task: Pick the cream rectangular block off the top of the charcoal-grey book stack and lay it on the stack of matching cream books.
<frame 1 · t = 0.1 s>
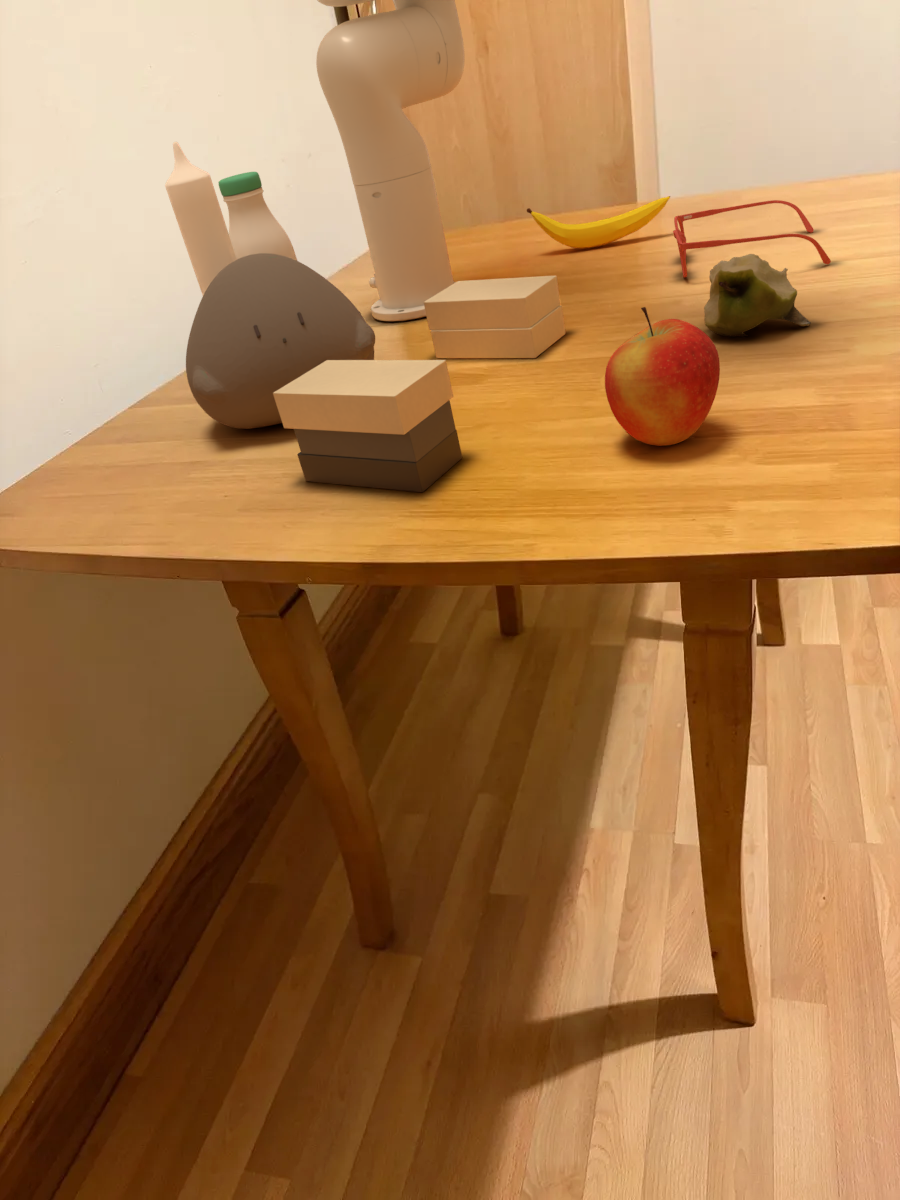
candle: (256, 389, 100), on the table
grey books: (382, 469, 74), on the table
banana: (601, 247, 123), on the table
cream rectangular block: (367, 412, 71), point 5 cm above the table, touching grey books
red eyeglasses: (747, 260, 104), on the table
decorative object: (296, 409, 92), on the table
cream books: (500, 346, 95), on the table
milk bottle: (291, 353, 110), on the table
apple: (666, 440, 68), on the table
fruit: (748, 331, 84), on the table
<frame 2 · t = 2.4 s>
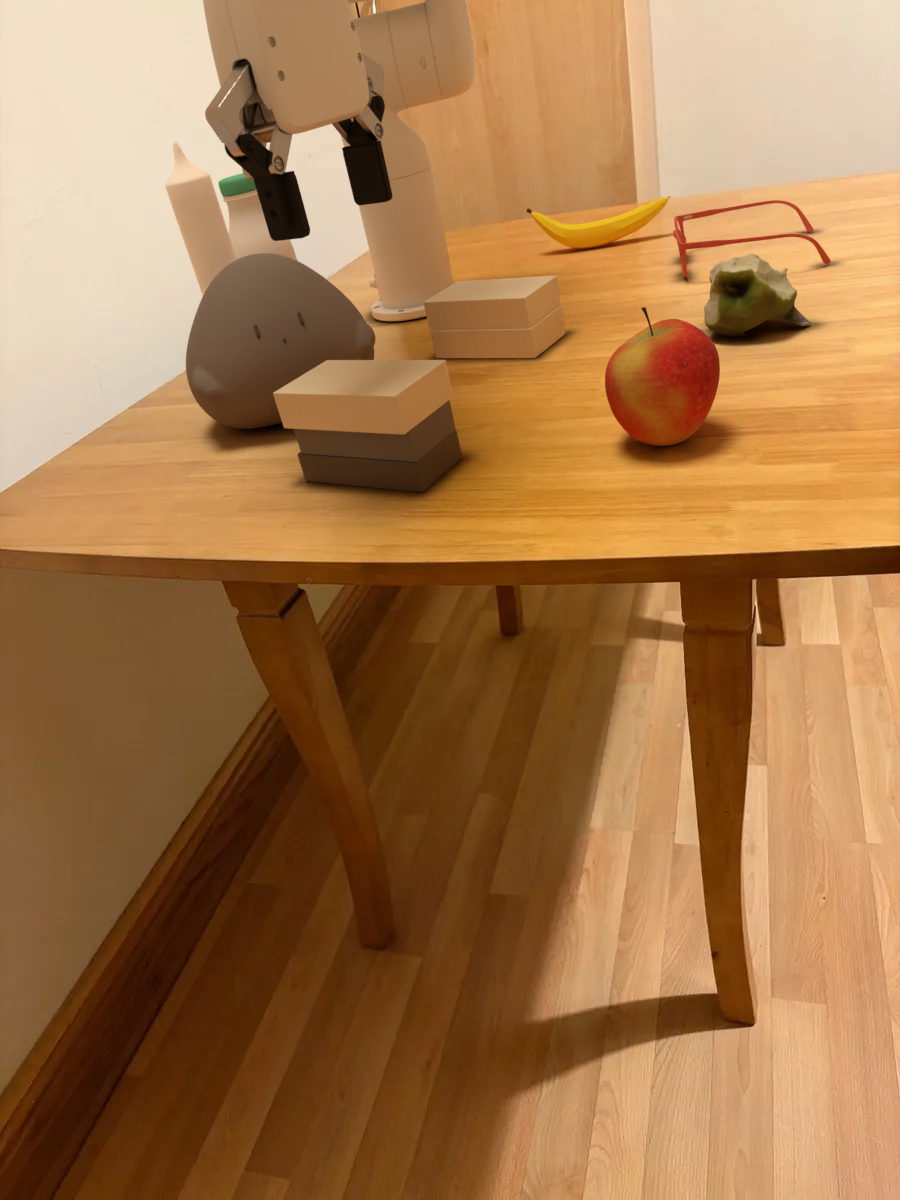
hand: (334, 219, 64), 19 cm above the table, tool pointing down, fingers open, 9 cm apart
nothing on the table moved.
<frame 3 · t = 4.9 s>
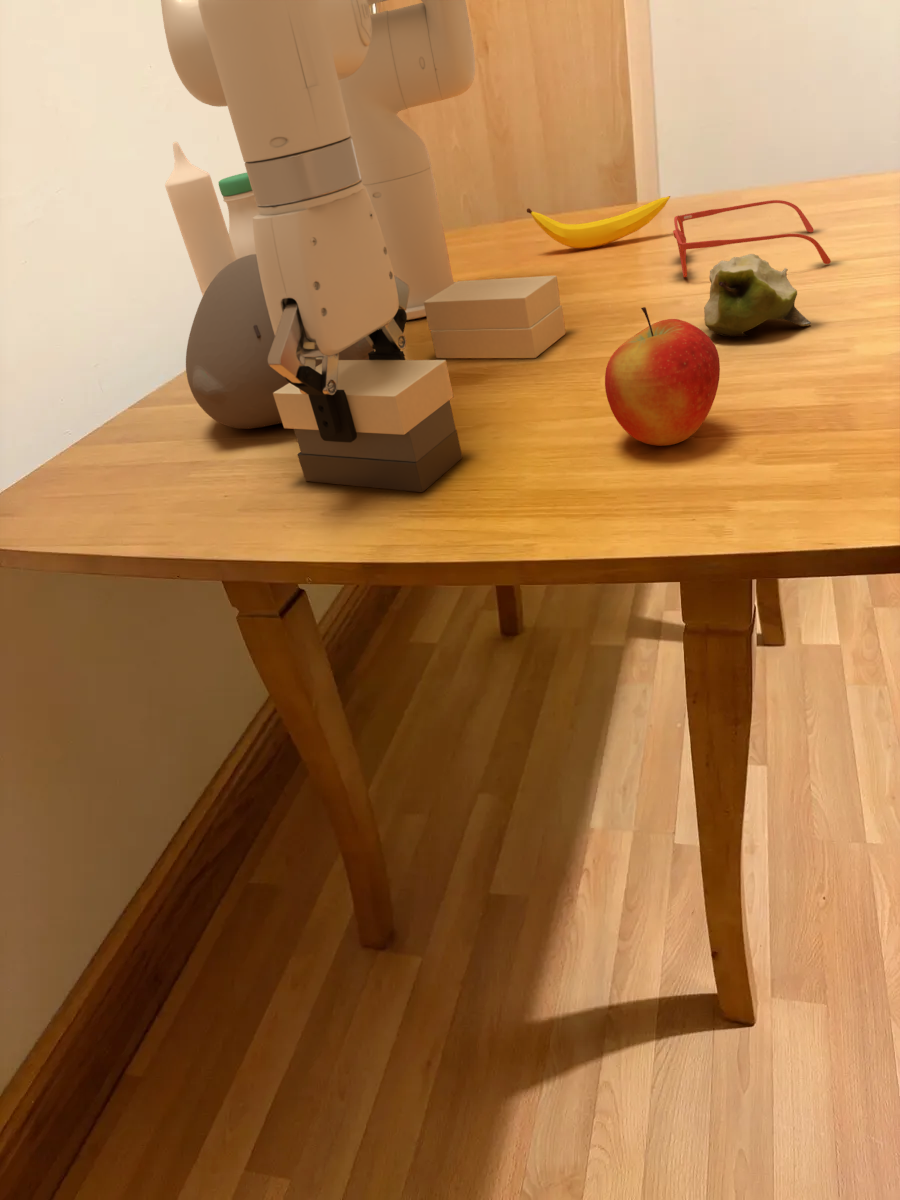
hand: (368, 417, 71), 5 cm above the table, tool pointing down, fingers closed on cream rectangular block, 7 cm apart
cream rectangular block: (367, 412, 71), point 5 cm above the table, touching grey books, gripper
everything else where it was.
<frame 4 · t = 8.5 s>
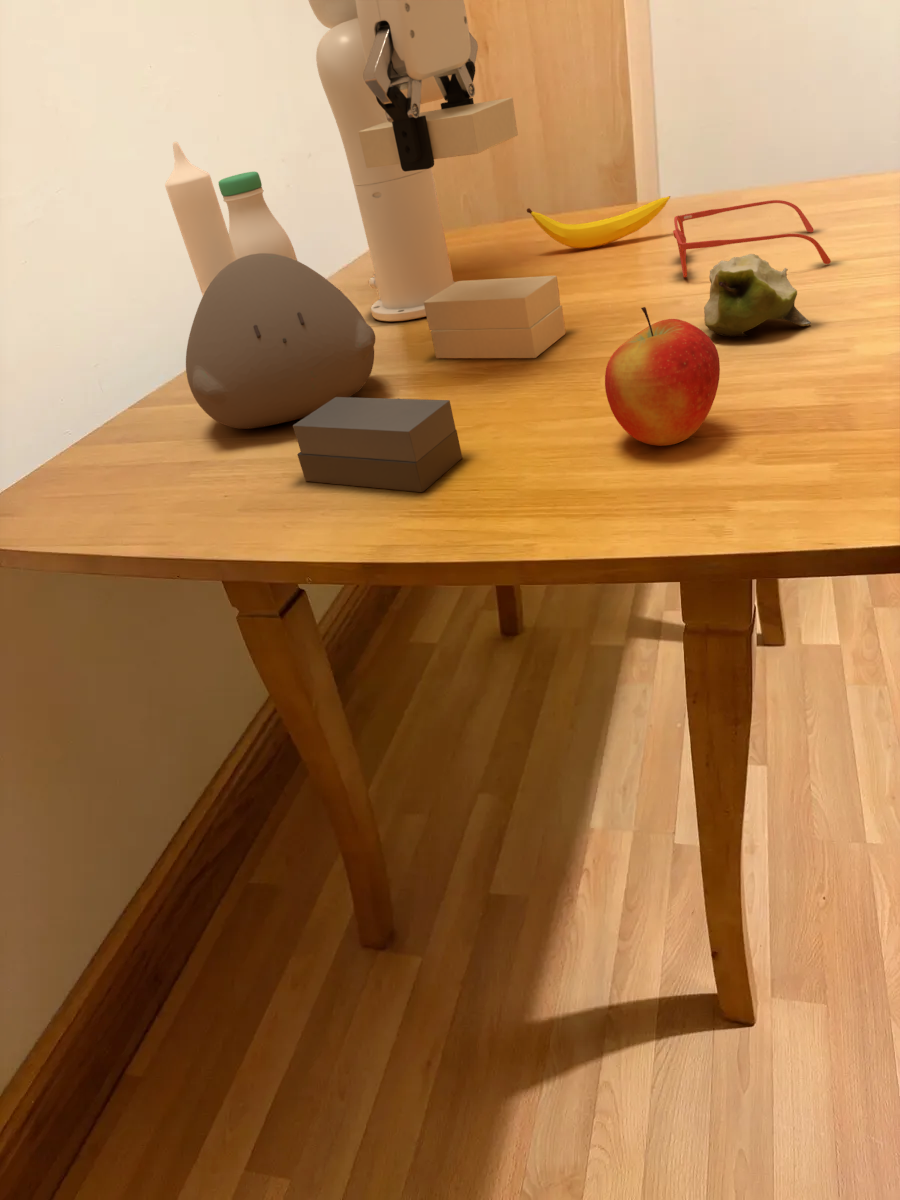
hand: (442, 157, 81), 19 cm above the table, tool pointing down, fingers closed on cream rectangular block, 7 cm apart
cream rectangular block: (441, 151, 80), point 20 cm above the table, touching gripper
everything else where it was.
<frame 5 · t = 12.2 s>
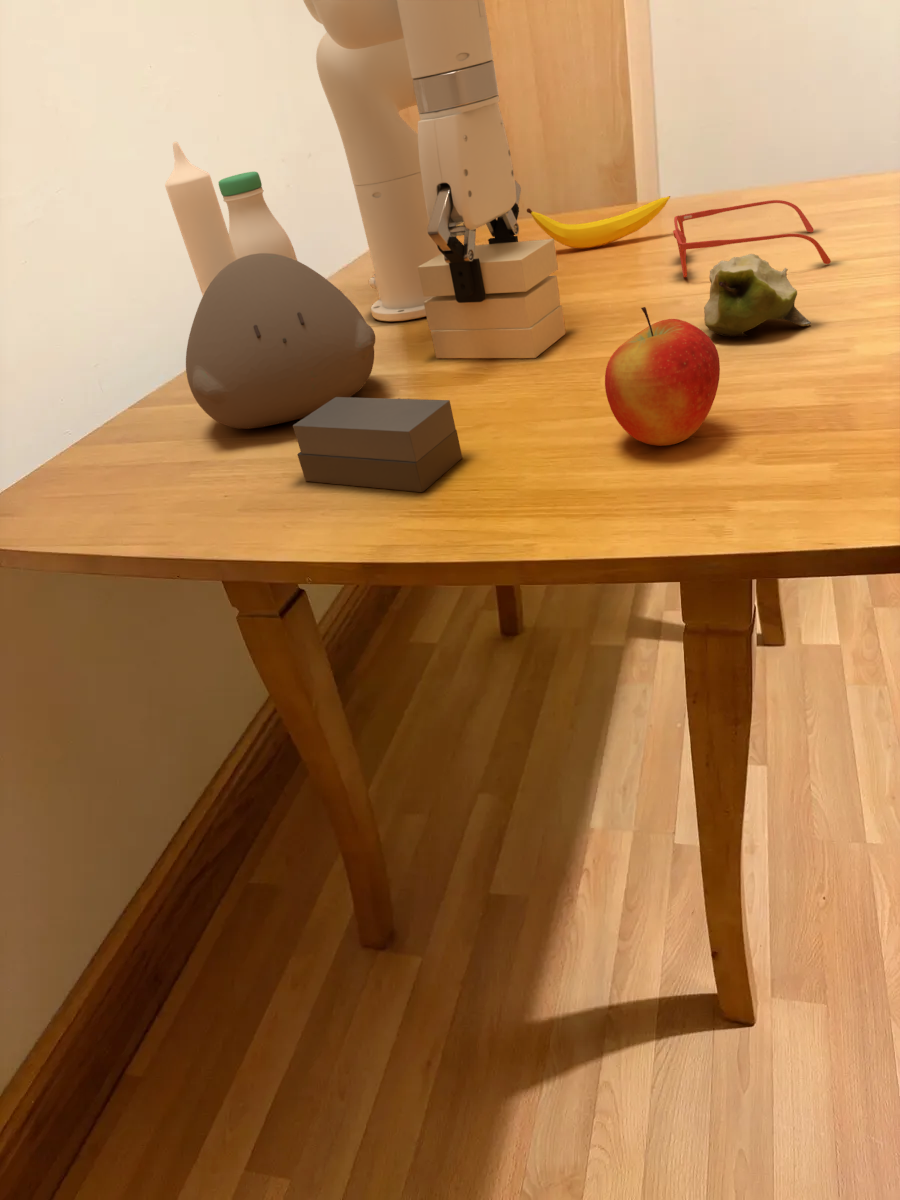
hand: (490, 287, 91), 6 cm above the table, tool pointing down, fingers closed on cream rectangular block, 7 cm apart
cream rectangular block: (490, 283, 91), point 7 cm above the table, touching gripper
everything else where it was.
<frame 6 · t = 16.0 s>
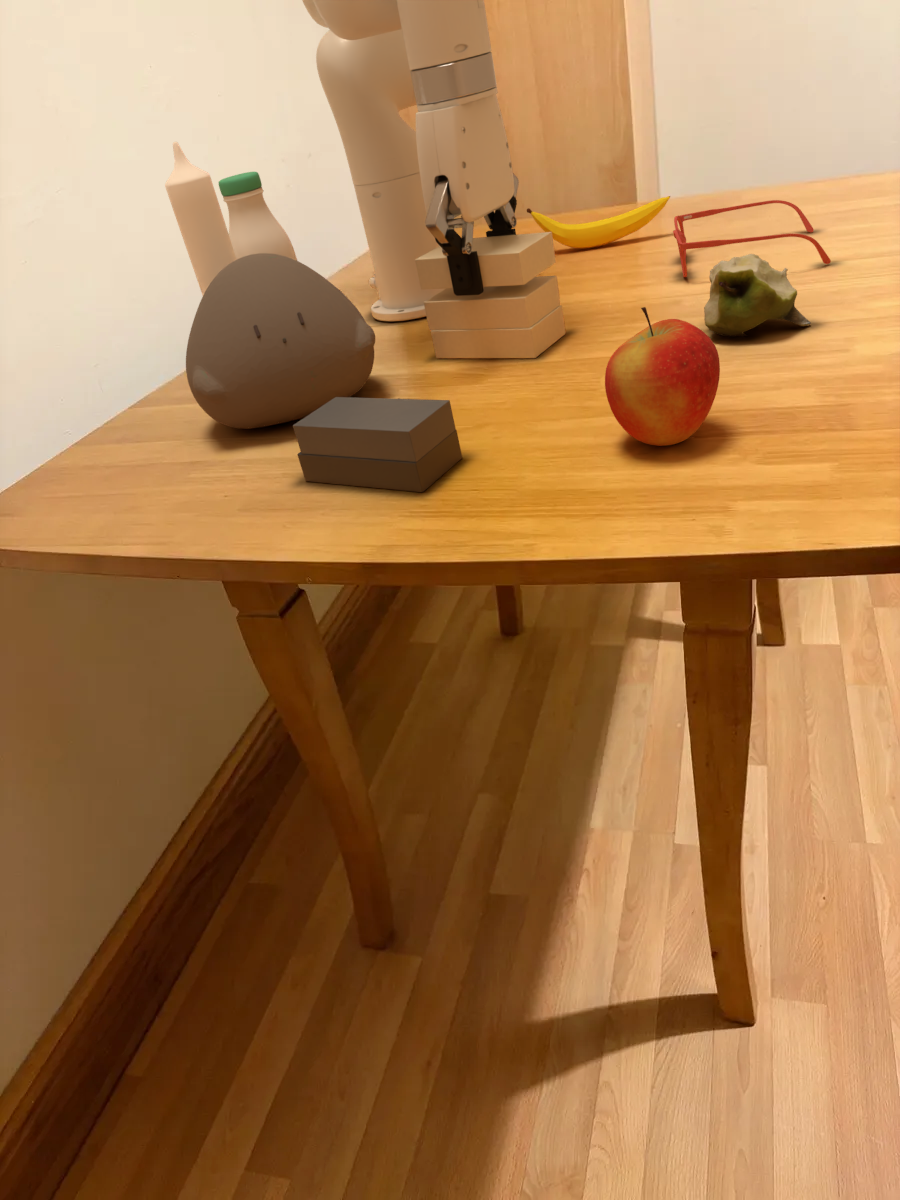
hand: (488, 280, 91), 7 cm above the table, tool pointing down, fingers closed on cream rectangular block, 7 cm apart
cream rectangular block: (487, 276, 91), point 7 cm above the table, touching gripper
everything else where it was.
when the fingers open (7 cm above the table, at t = 19.4 s): cream rectangular block drops 1 cm, resting on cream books.
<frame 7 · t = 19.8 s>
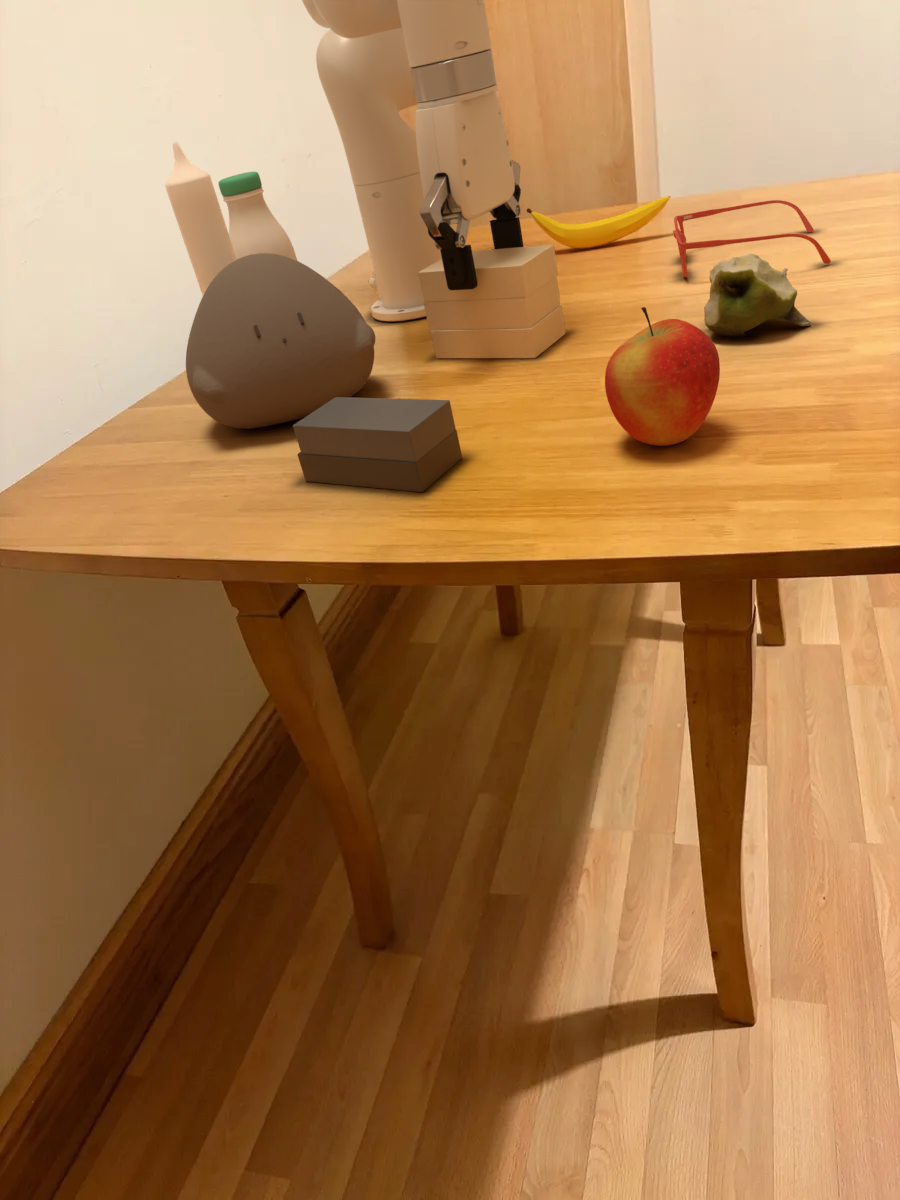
hand: (487, 273, 91), 8 cm above the table, tool pointing down, fingers open, 9 cm apart
cream rectangular block: (490, 288, 92), point 6 cm above the table, touching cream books
everything else where it was.
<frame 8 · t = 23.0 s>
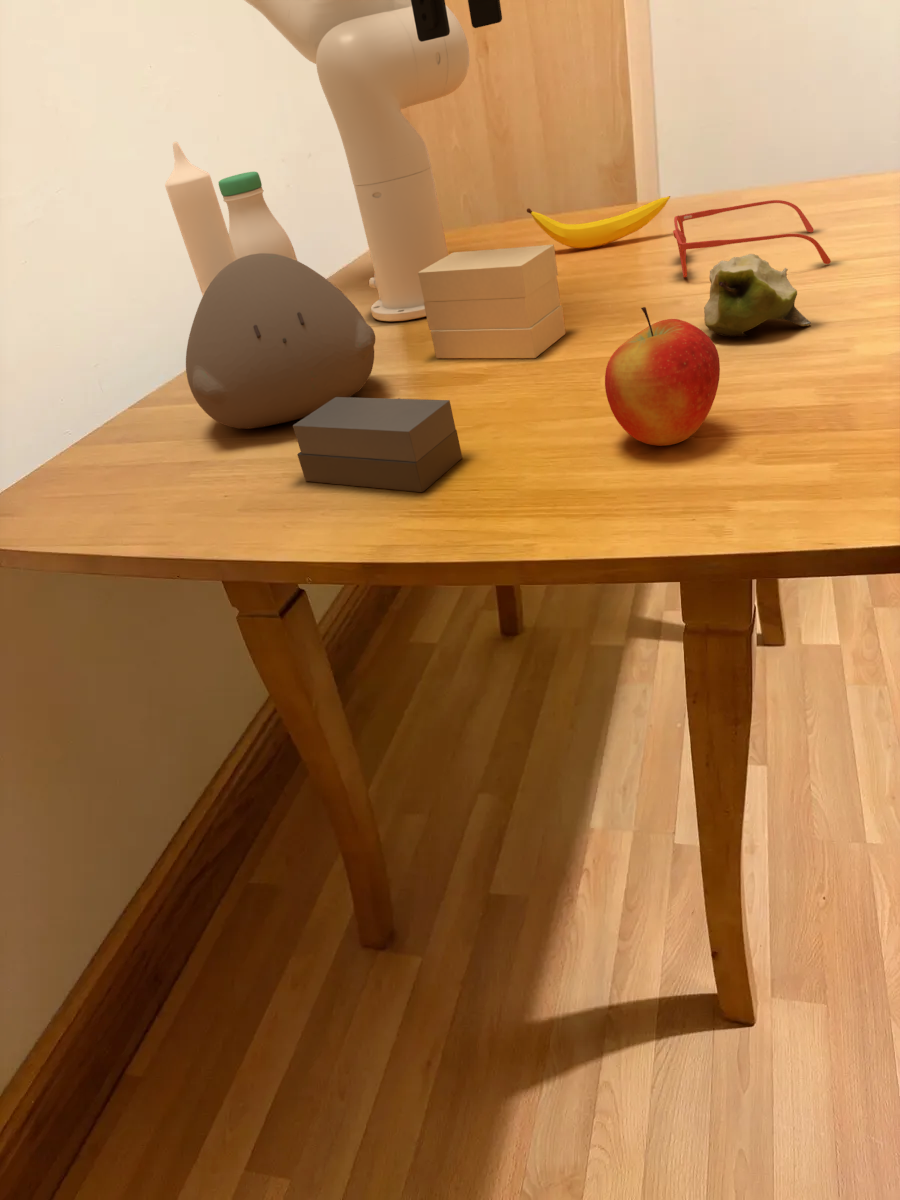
hand: (462, 31, 85), 28 cm above the table, tool pointing down, fingers open, 9 cm apart
nothing on the table moved.
at the end: cream rectangular block 0.1 cm off-centre on the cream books, point 6.0 cm above the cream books's base; cream rectangular block tilted 0°; cream rectangular block touching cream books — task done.
